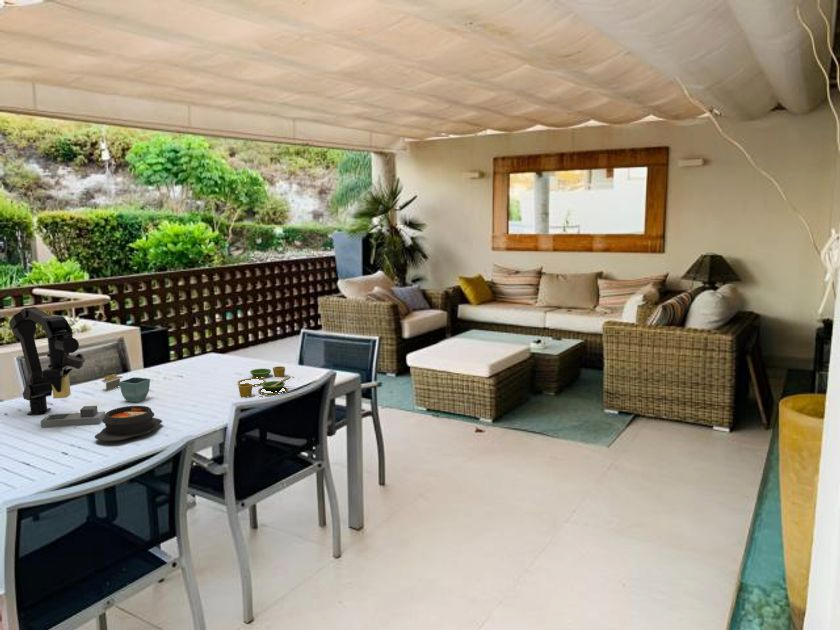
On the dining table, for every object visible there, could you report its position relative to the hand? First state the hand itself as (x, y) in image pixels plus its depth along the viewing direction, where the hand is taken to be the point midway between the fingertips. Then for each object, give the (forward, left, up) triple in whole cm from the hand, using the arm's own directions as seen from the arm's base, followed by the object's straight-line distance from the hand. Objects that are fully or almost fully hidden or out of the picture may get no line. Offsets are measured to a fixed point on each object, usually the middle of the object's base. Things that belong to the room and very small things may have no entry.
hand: (61, 390), depth 236 cm
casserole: (+20, +28, -12) cm, 37 cm away
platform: (-45, +5, -13) cm, 47 cm away
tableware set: (-38, +73, -13) cm, 83 cm away
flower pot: (-23, +20, -12) cm, 33 cm away
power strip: (+3, +4, -12) cm, 13 cm away
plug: (0, 0, -2) cm, 2 cm away
